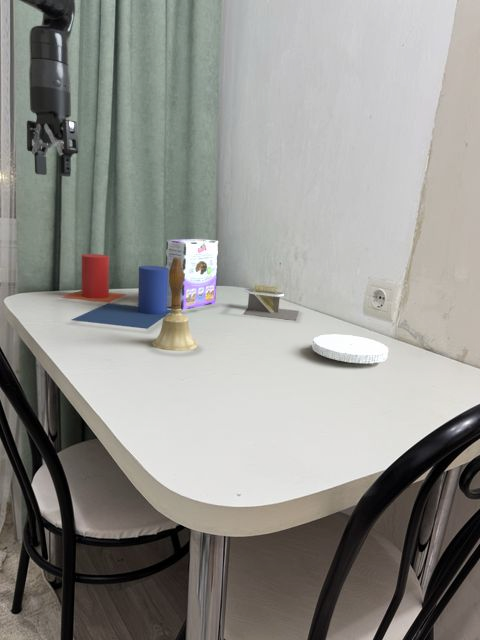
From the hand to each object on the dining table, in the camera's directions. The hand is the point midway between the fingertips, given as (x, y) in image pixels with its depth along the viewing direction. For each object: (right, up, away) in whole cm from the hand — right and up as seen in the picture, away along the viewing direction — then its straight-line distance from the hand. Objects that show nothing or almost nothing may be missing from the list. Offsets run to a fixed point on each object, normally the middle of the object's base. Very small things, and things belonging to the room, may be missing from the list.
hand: (52, 175), depth 104 cm
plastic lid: (+60, -38, -9) cm, 71 cm away
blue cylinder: (+18, -27, +12) cm, 35 cm away
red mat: (+1, -23, +23) cm, 32 cm away
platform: (+43, -26, +25) cm, 56 cm away
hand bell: (+27, -36, -12) cm, 46 cm away
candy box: (+25, -25, +23) cm, 42 cm away
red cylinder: (+1, -22, +23) cm, 32 cm away
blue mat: (+13, -29, +7) cm, 32 cm away
